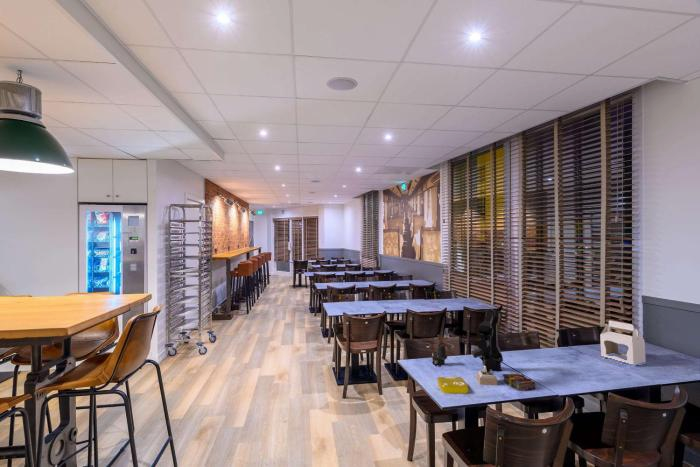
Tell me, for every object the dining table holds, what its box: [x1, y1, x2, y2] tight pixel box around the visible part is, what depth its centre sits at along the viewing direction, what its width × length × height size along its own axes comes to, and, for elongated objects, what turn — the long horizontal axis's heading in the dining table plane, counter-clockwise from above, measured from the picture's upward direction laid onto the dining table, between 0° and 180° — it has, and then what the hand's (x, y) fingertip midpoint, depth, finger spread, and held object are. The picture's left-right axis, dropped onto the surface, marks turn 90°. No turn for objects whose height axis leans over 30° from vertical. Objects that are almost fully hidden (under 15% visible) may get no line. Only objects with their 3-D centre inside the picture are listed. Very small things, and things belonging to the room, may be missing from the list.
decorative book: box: [502, 372, 536, 392], centre depth 202 cm, size 11×16×5 cm
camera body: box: [476, 370, 498, 386], centre depth 207 cm, size 10×8×6 cm
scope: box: [431, 343, 448, 367], centre depth 240 cm, size 8×14×10 cm
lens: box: [481, 362, 492, 375], centre depth 207 cm, size 5×5×6 cm
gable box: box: [599, 320, 646, 365], centre depth 245 cm, size 22×13×28 cm, turn 20°
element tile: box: [437, 376, 469, 395], centre depth 198 cm, size 15×15×5 cm
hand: (486, 371), depth 207 cm, fingers closed on lens, 5 cm apart
